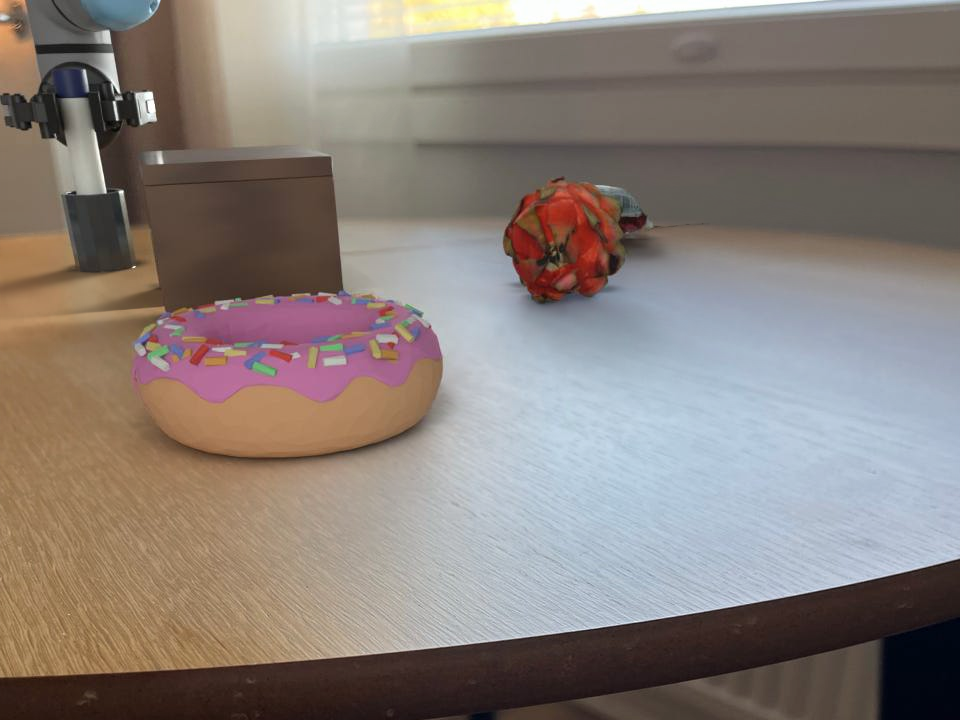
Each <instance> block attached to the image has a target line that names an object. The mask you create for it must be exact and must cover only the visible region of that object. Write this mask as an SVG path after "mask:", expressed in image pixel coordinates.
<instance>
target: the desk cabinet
mask: <svg viewBox="0 0 960 720" xmlns="http://www.w3.org/2000/svg"><path fill="white" fill-rule="evenodd" d="M136 157H137V164H138V169H139V175H140V180H141V181H140V182H141V186H142V192H143V199H144V204H145V210H146V215H147V222H148V227H149V233H150V239H151V245H152V250H153V256H154V262H155V270H156V273H157V280H158V285H159V290H161V295H162V300H163V304H164V311H165V312H170V313H172V312H175V311H177V310H179V309H182V308H184V307H185V308H187V309H190V308H192V309H193V310H196V309H198V306H202V305H208V304H215V301H224V300H234V301H235V299H236V298H241V300H249V299H255V298H259V297H264V296H269V295H273V297H278V296H284V297H288V296H292V294H306V293H310V295H311V296H316V295H318V293H320V292H321V293H329V294H337V296H340V295H338V294H339V291H344V281H343V268H342V258H341V246H340V234H339V226H338V225H339V224H338V212H337V201H336V200H337V199H336V188H335V177H334V168H333V167H334V166H333V156H332V155H330V154H327V153H324V152H321V151H318V150H316V149H312V148H310V147H307V146H304V145H301V144H280V145H258V146H238V147H217V148H213V147H212V148H195V149H194V148H192V149H172V150H171V149H170V150H149V151H136ZM165 312H164V313H165Z"/></svg>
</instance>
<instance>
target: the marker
mask: <svg viewBox="0 0 960 720" xmlns="http://www.w3.org/2000/svg"><path fill="white" fill-rule="evenodd" d="M51 72H52V77H53V82H54V88H55V93H56V96H57V98H58V101H59V106H60V111H61V117H62V122H63V127H64V132H65V137H66V142H67V147H66V148H67V151H68V158H69V162H70V163H69V164H70V167H71V172H72V177H73V178H72V179H73V182H74V188H75V191H76V193H77V195H87V194H102V193H107V192H106V189H107V187H106V182H105V176H104V171H103V165H102V160H101V154H100V150H99V148H98V143H97V137H96V132H95V130H94V125H93V119H92V114H91V108H90V103H89V97H88V92H89V86H88V81H87V75H86V70H85V69H53V70H51Z"/></svg>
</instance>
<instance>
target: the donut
mask: <svg viewBox="0 0 960 720" xmlns="http://www.w3.org/2000/svg"><path fill="white" fill-rule="evenodd" d="M338 295H340V296H337V294H329V293H321V292H320V293H318V295H316V296H311V295H310V293H306V294H292V296H288V297H284V296H278V297H273V295H269V296H264V297H259V298H255V299H249V300H241V298H236V299H235V301H234V300H224V301H215V304H208V305H202V306H198V309H196V310H193V309H192V308H190V309H187V308H185V307H184V308H182V309H179V310H177V311H175V312H172V313H170V312H164V313H163V314H162V315H161V316H160V317H159V318H157V320H155V322H153V323H150V324H149V325H146V326H145V327H144V328H143V330H142V332H141V333H140V336H139V337H138V338H137V340H135V341H134V342H132V346H133V348H134V351H136V354H135V355H134V358H133V361H132V364H131V365H132V367H131V381H132V386H133V388H134V390H135V392H136V395H137V397H138V398H139V401H141V403H142V405H143V407H144V409H145V410H146V412H147V414H149V416H150V417H151V419H152V420H153V421H154V423H155V424H156V426H157V427H158V428H159V429H160V430H161V431H162V432H164V434H166V435H167V436H168V437H169V438H170V439H172V440H174V441H176V442H178V443H180V444H181V445H184V446H186V447H190V448H192V449H195V450H199V451H203V452H206V453H209V454H216V455H222V456H229V457H235V458H237V457H238V458H249V459H251V458H253V459H254V458H256V459H257V458H258V459H261V458H262V459H263V458H264V459H265V458H299V457H300V458H301V457H310V456H312V457H313V456H320V455H327V454H333V453H338V452H344V451H350V450H355V449H358V448H361V447H365V446H369V445H373V444H376V443H380V442H383V441H385V440H388V439H390V438H392V437H396V436H398V435H400V434H401V433H403V432H405V431H407V430H408V429H410V428H412V427H414V426H415V425H417V424H418V423H419V421H421V420H422V419H423V418H424V417H425V416H426V414H427V413H428V412H429V411H430V410H431V408H432V406H433V404H434V402H435V399H436V397H437V395H438V392H439V390H440V386H441V382H442V378H443V372H444V371H443V370H444V357H443V353H442V350H441V346H440V343H439V338H438V335H437V334H436V333H435V331H434V330H433V328H432V325H431V323H430V322H429V321H428V320H425V318H423V315H424V312H423V311H421V310H419V309H417V308H415V307H414V306H412V305H410V304H408V303H405V305H404V304H403V303H402V302H401V301H399V300H398V299H396V300H394V299H386V298H385V299H384V298H381V297H380V296H379V297H377V299H376V297H375V296H374V295H373V294H371V293H370V294H361V295H360V294H354V295H353V296H352V295H351V294H349V293H348V292H346V291H345V290H343V291H339V294H338Z"/></svg>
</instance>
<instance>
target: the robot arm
mask: <svg viewBox="0 0 960 720" xmlns="http://www.w3.org/2000/svg"><path fill="white" fill-rule="evenodd" d="M24 2H25V7H26V11H27V16H28V21H29V22H28V23H29V26H30V31H31V35H32V40H33V45H34V51H35V57H36V63H37V67H38V73H39V77H40V84H39V85H38V90H37V93H35V94H33V95H32V96H31V97H30V99H29V101H27V100H28V99H27V96H26V94H21V93H20V92H19V93H13V94H10V92H3V93H2V94H0V105H1V110H2V115H3V120H4V123H5V124H4V125H5V126H6V127H10V128H15V129H17V130H20V131H23V132H26V131H29V129H33V124H32V123H36V124H38V127H39V132H40V138H41V139H42V140H53V139H55V140H56V141H57V142H59V143H60V144H62V145H63V146H65V147H66V148H68V147H67V142H66V137H65V132H64V127H63V122H62V117H61V111H60V106H59V101H58V98H57V96H56V93H55V88H54V82H53V77H52V72H51V70H53V69H85V70H86V75H87V81H88V86H89V92H88V97H89V103H90V108H91V114H92V119H93V125H94V130H95V132H96V137H97V143H98V148H99V151H101V150H104V149H107V148H108V147H109V146H110V145H112V144H113V143H114V142H115V141H116V139H117V138H118V137H119V135H120V133H121V131H122V128H123V124H124V121H125V122H126V126H130V127H131V128H138V127H139V126H143V125H146V124H154V123H156V122H158V119H157V113H156V106H155V101H154V100H155V99H154V93H153V91H150V90H148V89H142V90H141V91H132V90H126V91H125V92H121V89H120V84H119V83H120V82H119V77H118V72H117V65H116V60H115V53H114V48H113V44H112V38H111V31H115V32H124V31H127V30H131V29H133V28H134V27H136V26H138V25H140V24H142V23H145V22H146V21H148V20H150V18H152V16H153V15H154V14H155V13H156V12H157V10H158V8H159V5H160V3H161V0H24Z"/></svg>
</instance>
